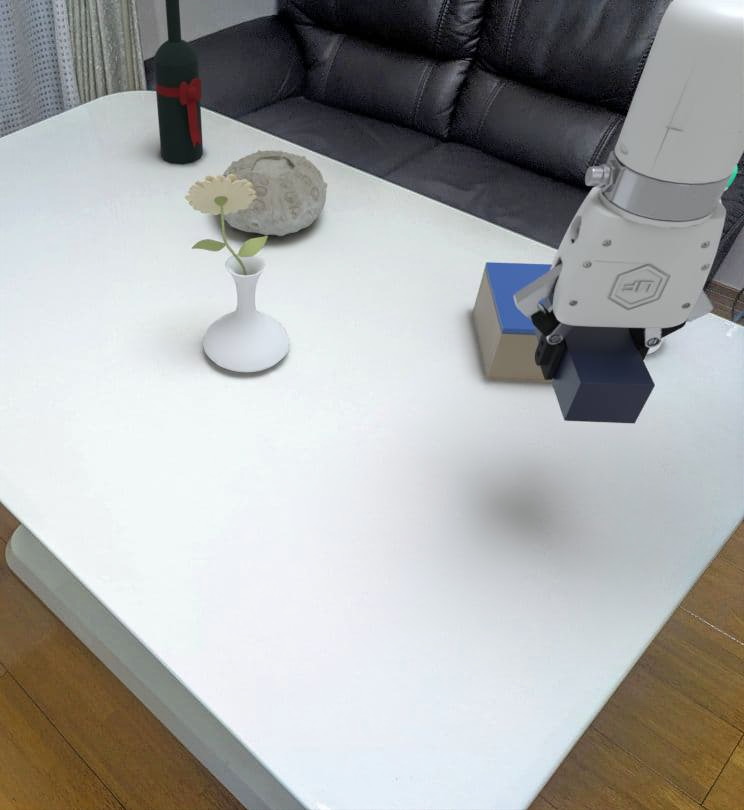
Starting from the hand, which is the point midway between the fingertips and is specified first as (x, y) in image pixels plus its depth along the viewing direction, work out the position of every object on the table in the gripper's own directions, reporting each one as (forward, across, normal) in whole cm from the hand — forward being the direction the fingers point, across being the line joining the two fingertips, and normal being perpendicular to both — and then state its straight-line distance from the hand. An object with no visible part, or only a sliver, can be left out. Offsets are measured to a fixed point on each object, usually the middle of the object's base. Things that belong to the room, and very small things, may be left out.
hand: (582, 369), depth 65 cm
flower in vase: (+19, -32, +23) cm, 44 cm away
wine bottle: (+19, -46, +77) cm, 92 cm away
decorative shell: (+19, -30, +56) cm, 66 cm away
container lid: (+11, +5, +26) cm, 28 cm away
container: (+19, +5, +26) cm, 32 cm away
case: (+1, 0, 0) cm, 1 cm away
